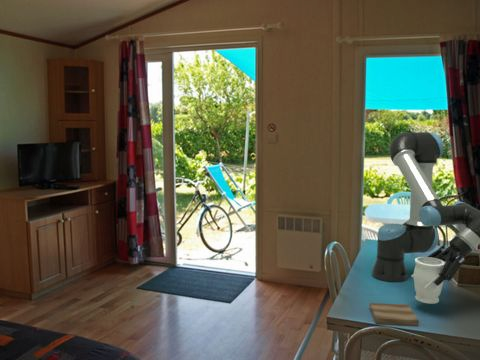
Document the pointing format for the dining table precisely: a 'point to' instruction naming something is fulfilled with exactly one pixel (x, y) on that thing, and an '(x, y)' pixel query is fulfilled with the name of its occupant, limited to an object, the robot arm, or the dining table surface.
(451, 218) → the robot arm
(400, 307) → the walnut stand
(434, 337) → the dining table surface
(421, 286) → the jar
